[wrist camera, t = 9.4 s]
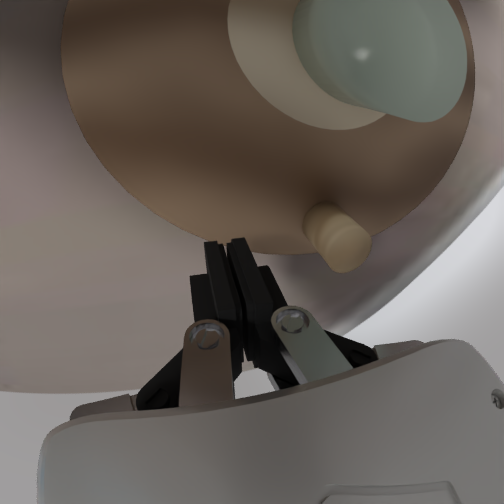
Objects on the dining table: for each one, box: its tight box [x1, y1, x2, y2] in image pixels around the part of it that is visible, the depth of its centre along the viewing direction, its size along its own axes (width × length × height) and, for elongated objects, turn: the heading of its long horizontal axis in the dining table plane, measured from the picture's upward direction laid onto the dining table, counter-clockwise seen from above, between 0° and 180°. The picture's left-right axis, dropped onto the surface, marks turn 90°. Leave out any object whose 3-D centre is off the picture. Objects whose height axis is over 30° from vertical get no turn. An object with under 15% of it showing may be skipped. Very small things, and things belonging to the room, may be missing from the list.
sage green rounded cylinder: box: [292, 0, 467, 122], centre depth 8 cm, size 7×7×4 cm
